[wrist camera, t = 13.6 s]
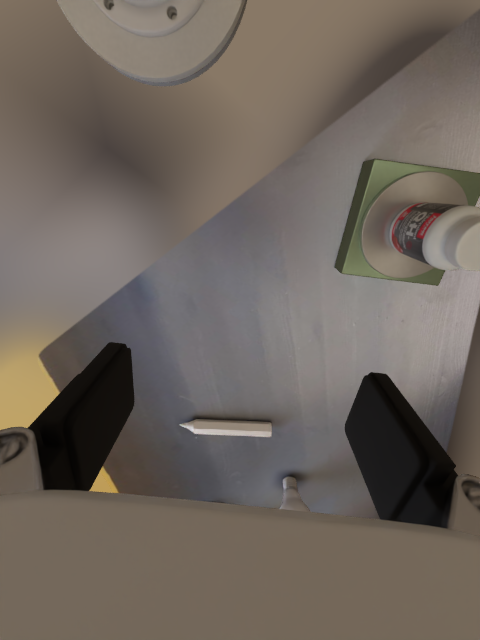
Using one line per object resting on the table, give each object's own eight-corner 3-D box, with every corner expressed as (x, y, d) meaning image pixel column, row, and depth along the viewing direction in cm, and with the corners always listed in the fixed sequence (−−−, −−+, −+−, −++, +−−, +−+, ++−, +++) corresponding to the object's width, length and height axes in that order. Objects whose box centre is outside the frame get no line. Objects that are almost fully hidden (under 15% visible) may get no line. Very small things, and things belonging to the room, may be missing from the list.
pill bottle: (390, 206, 28) (454, 213, 19) (444, 198, 28) (534, 201, 19) (385, 257, 31) (441, 284, 22) (435, 250, 30) (512, 275, 21)
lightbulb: (274, 489, 55) (280, 554, 45) (271, 468, 52) (276, 533, 43) (305, 487, 55) (318, 552, 45) (304, 466, 52) (317, 531, 42)
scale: (334, 267, 35) (341, 273, 32) (363, 161, 30) (374, 158, 27) (427, 279, 35) (442, 286, 33) (472, 176, 30) (494, 174, 27)
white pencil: (180, 416, 48) (270, 421, 48) (180, 429, 48) (270, 433, 48) (177, 421, 46) (271, 425, 45) (176, 434, 45) (271, 438, 45)
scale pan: (346, 270, 32) (348, 272, 31) (378, 164, 27) (381, 164, 27) (436, 281, 32) (440, 283, 32) (483, 179, 28) (489, 178, 27)
